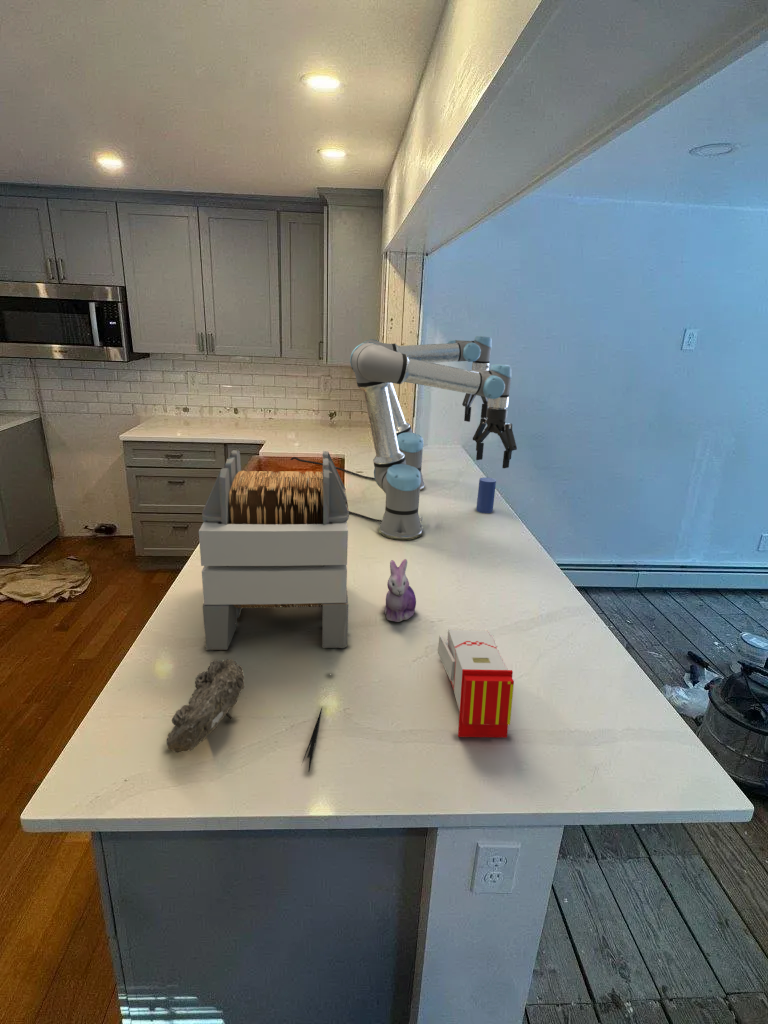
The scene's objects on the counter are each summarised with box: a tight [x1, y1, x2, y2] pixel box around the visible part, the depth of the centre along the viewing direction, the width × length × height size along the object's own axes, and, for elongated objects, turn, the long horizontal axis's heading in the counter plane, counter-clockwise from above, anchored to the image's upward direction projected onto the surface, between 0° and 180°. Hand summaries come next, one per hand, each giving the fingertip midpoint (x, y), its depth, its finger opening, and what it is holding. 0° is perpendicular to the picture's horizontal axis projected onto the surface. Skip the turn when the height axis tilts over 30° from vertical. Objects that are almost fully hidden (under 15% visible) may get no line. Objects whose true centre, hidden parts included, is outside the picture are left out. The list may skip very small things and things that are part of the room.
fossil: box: [166, 658, 245, 754], centre depth 106 cm, size 22×10×15 cm
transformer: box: [198, 449, 350, 651], centre depth 138 cm, size 34×33×41 cm
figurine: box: [384, 558, 417, 623], centre depth 145 cm, size 9×10×15 cm
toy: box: [437, 628, 515, 738], centre depth 117 cm, size 12×13×30 cm
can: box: [475, 476, 497, 514], centre depth 225 cm, size 6×6×13 cm
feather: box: [301, 673, 332, 771], centre depth 108 cm, size 2×28×2 cm
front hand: (492, 463), depth 216 cm, fingers open, 13 cm apart
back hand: (475, 419), depth 261 cm, fingers open, 13 cm apart
